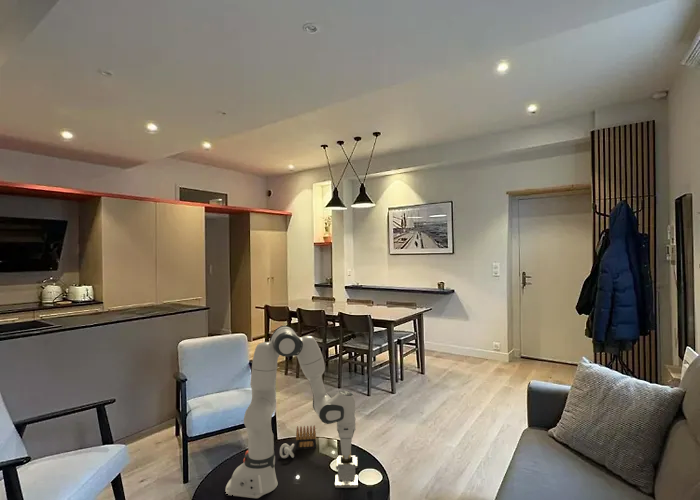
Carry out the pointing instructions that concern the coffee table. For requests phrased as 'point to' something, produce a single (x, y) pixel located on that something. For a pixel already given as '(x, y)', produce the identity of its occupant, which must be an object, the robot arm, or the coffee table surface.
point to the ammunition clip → (306, 438)
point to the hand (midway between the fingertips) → (346, 455)
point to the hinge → (346, 473)
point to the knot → (287, 450)
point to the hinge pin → (346, 459)
